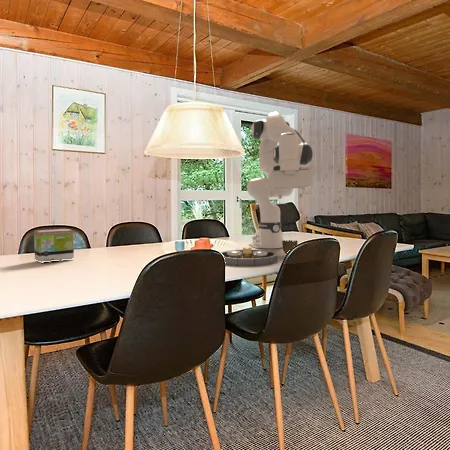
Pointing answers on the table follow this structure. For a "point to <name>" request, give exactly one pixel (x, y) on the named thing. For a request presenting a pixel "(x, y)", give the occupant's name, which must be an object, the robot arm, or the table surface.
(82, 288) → the table surface
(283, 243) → the cup
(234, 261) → the tray
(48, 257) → the tea box
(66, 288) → the table surface
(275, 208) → the robot arm
